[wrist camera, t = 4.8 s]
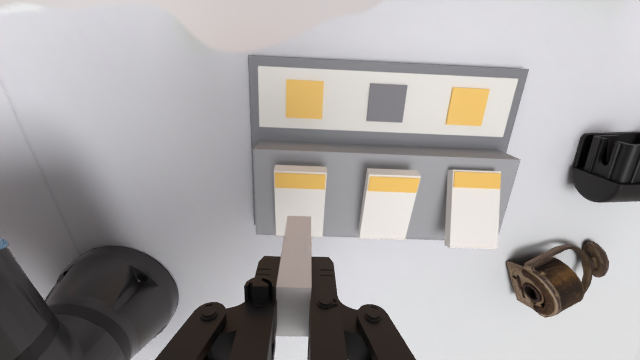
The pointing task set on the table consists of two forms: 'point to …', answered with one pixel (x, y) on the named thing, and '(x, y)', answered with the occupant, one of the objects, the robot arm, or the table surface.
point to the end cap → (608, 167)
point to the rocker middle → (387, 203)
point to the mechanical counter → (556, 278)
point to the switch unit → (379, 131)
